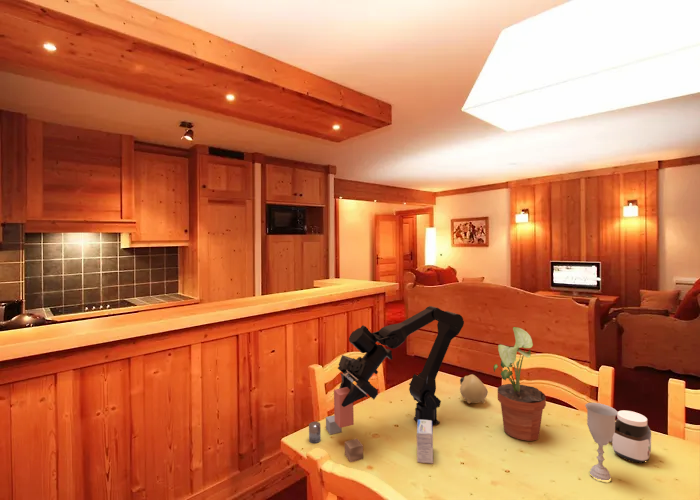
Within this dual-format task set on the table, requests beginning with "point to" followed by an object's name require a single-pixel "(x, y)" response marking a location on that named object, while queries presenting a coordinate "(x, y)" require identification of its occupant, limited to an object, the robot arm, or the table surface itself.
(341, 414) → the dusty red block
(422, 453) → the medicine box
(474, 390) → the toy pig
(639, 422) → the spread jar
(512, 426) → the potted plant
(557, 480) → the table surface
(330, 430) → the slate grey block
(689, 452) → the table surface
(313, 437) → the grey metal cylinder
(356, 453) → the walnut block
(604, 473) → the chalice
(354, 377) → the robot arm
